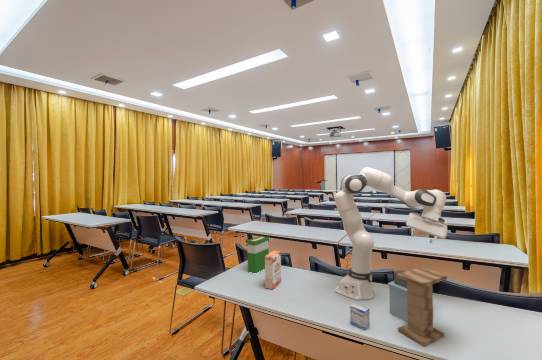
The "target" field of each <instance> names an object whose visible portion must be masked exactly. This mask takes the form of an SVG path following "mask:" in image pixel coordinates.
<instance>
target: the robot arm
mask: <svg viewBox="0 0 542 360" xmlns="http://www.w3.org/2000/svg"><path fill="white" fill-rule="evenodd" d="M394 184H395V183H394V178H393V177H392V176H391V174H388V173H387V172H384V171H382V170H379V169H376V168H372V167H368V166H366V167H362V169H360V170H359V172H358V174H348V175H345V176H344V177H343V178H341V181H340V189H339V190H340V191H338V192H336V193H335V195H334V197H333V198H334V203H335V206H336V210H337V211H338V214H339V216H340V218H341V221H342V223H343V225H344V228H345V231H346V234H347V236H348V239H349V242H350V243H352V253H351V257H350V267H349V269H348V270H347V274H346V275H345V276H343V277H342V278H341V279H340V280H339V283H338V284H337V286H336V287H335V288H334V292H335V293H338V294H339V295H342V296H344V297H347V298H350V299H352V300H354V301H361V300H370V299H371V300H372V299H373V298H375V293H374V289H373V284H372V283H373V282H372V281H373V273H372V263H371V262H372V261H371V260H372V252H373V248H374V245H375V241H374V238H373V236H372V235H371V234H370V233H369V232H368V231H367V230H366V228H365V225H364V222H363V219H362V215H361V213H360V211H359V209H358V206H357V204H356V202H355V199H354V198H355V197H354V195H357V194H359V193H361V192H362V191H363V190H364V188H366V187H370V188H372V189H375V190H377V191H379V192H382V193H385V194H387V195H389V196H391V197H393V198H395V199H397V200H399V201H400V202H402V203H403V204H404V205H405V206H406V207H408V208H411V209H413V208H417V207H422V208H423V209H422V213H418V212H416V211H415V212H414V211H413V212H410V213H409V214H408V219H407V221H406V222H405V225H406V227H408V228H410V230H411V235H410V236H411V237H414V238H415V236H416V233H414V231H415V230H416V231H419V232H422V233H424V234H427V235H430V236H433V239H430V240H429V243H430V244H432V245H433V244H434V241H435V240H438V238H439V239H442V240H444V239H446V238H447V235H448V225H449V222H448V220H447V219H445V218H443V217H442V211H443V209H444V208H445V205H446V202H447V195H446V193H445V192H443V191H442V190H440V189H435V188H434V189H424V188H423V189H422V188H421V189H416V190H413V191H410V190H409V191H407V190H404V189H403V188H400V187H398V186H396V185H394Z"/></svg>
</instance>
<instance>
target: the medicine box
mask: <svg viewBox="0 0 542 360" xmlns="http://www.w3.org/2000/svg"><path fill="white" fill-rule="evenodd" d="M370 312H371V311H370V308H368V307H366V306H364V305H361V304H358V303H355V302H354V303H352V304H351V305H350V306H349V324H350V325H352V326H355V327H358V328H360V329H362V330H363V331H366V330H367V329H368V328H369V327H370V326H371V322H370V319H371V318H370V317H371V316H370Z"/></svg>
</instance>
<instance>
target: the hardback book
mask: <svg viewBox="0 0 542 360" xmlns="http://www.w3.org/2000/svg"><path fill="white" fill-rule="evenodd" d="M246 245H247V246H246V248H247V250H246V251H247V273H249V272H252V273H251V274H253V273H257V272H259V271H260V272H262V271H264V270H265V256H266V255H268V254H269V253H270V251H269V249H270V247H269V245H270V244H269V236H263V235H260V236H257V237H253V238H250V239H248V240H246ZM263 269H264V270H263ZM261 270H262V271H261ZM260 272H259V273H260ZM257 274H258V273H257Z"/></svg>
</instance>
